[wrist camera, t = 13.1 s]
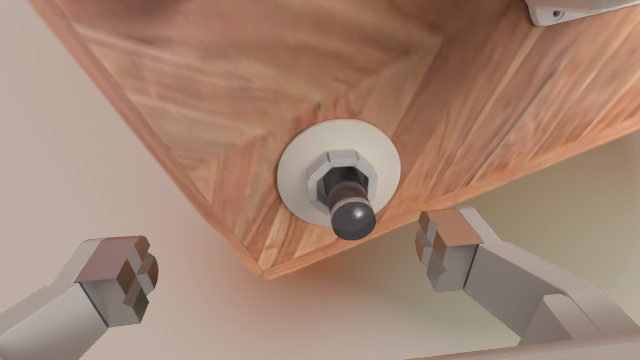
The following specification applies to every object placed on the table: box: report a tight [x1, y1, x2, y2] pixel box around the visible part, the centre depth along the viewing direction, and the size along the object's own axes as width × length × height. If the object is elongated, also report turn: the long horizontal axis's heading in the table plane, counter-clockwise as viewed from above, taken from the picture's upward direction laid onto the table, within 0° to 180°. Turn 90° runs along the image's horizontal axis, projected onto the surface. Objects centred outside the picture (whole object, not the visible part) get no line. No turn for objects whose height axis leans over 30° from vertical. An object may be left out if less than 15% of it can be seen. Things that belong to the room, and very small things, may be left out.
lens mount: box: [277, 118, 401, 227], centre depth 46 cm, size 18×18×4 cm
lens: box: [323, 166, 376, 240], centre depth 43 cm, size 5×5×10 cm
